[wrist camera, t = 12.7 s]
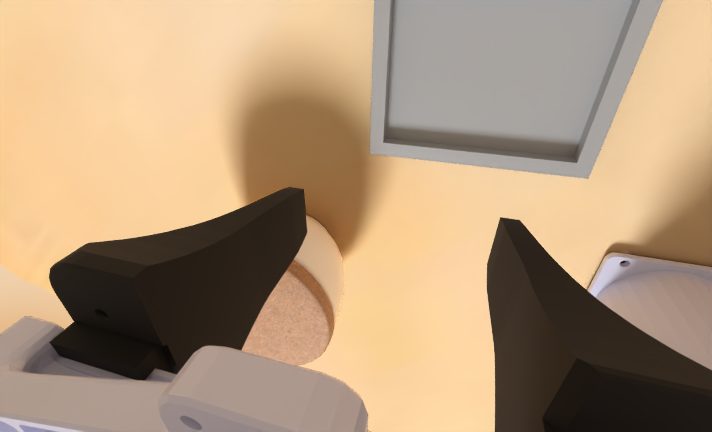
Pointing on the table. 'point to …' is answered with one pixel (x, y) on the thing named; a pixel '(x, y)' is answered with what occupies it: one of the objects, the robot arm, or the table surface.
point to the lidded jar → (302, 303)
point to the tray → (503, 79)
